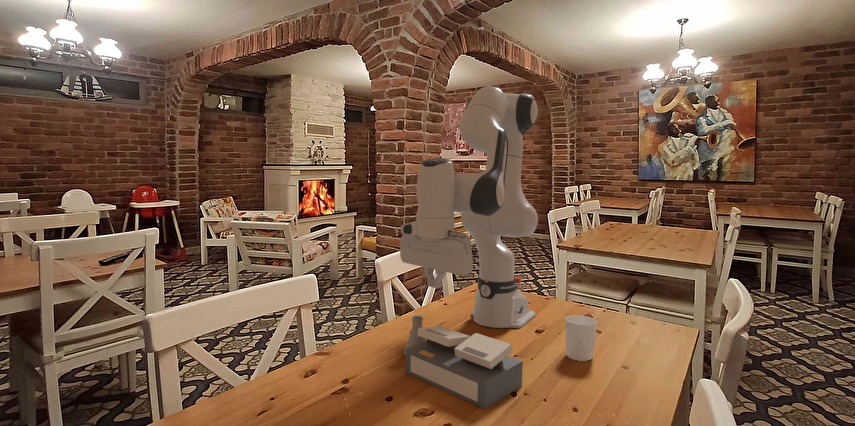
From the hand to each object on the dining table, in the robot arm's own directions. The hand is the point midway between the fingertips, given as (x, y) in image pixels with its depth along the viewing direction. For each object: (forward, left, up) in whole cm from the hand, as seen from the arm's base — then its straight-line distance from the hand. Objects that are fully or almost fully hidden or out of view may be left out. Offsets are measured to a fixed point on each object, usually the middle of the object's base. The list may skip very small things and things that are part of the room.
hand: (434, 287), depth 108 cm
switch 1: (-3, 0, -13) cm, 14 cm away
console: (-3, +6, -22) cm, 23 cm away
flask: (-6, -12, -22) cm, 26 cm away
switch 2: (-3, +12, -13) cm, 18 cm away
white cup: (-35, +20, -22) cm, 46 cm away
